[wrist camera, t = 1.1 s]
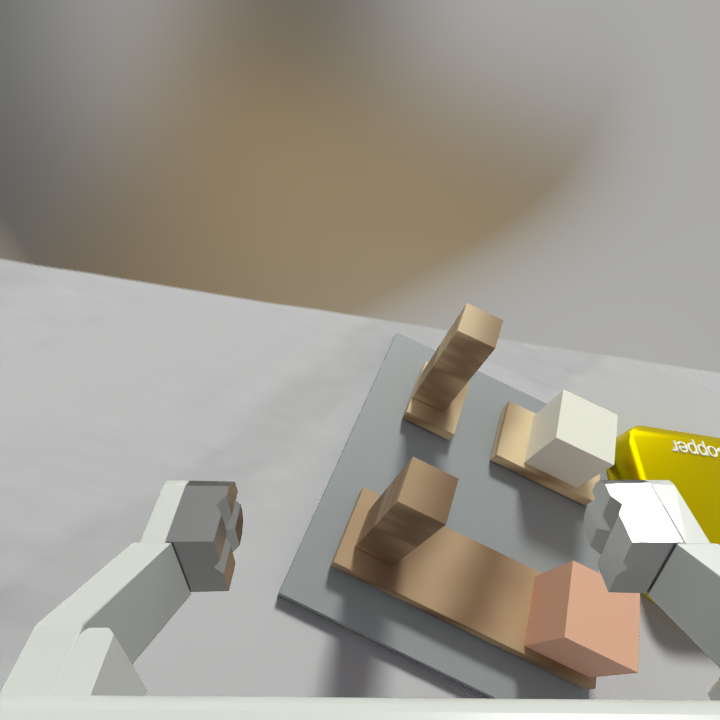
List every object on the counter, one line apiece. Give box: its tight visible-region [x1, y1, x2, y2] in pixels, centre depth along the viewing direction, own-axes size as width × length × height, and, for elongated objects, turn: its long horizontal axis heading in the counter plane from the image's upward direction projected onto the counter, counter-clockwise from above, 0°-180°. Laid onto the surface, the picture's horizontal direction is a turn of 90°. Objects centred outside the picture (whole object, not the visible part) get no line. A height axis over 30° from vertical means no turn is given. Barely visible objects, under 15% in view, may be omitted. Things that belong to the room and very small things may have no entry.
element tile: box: [607, 426, 720, 604], centre depth 47 cm, size 15×15×5 cm
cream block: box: [524, 389, 618, 488], centre depth 44 cm, size 5×5×5 cm
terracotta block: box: [524, 561, 640, 677], centre depth 36 cm, size 5×5×5 cm
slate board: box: [278, 333, 606, 699], centre depth 43 cm, size 23×26×1 cm
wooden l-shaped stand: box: [330, 457, 596, 689], centre depth 34 cm, size 20×6×11 cm, turn 69°
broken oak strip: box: [403, 303, 600, 506], centre depth 43 cm, size 18×6×11 cm, turn 69°
